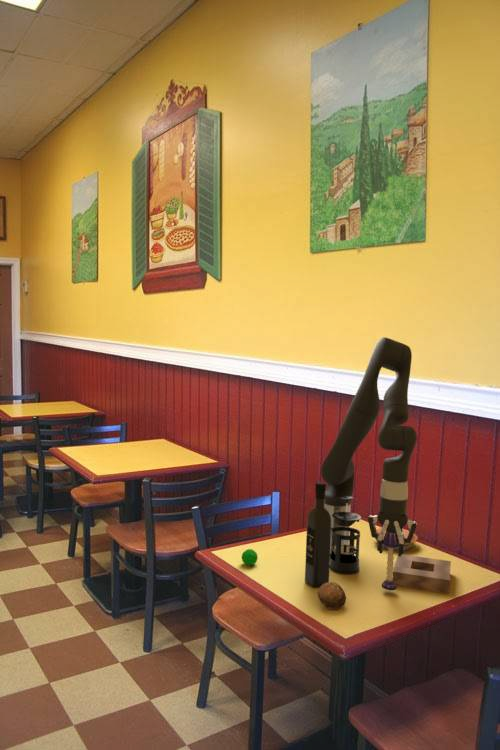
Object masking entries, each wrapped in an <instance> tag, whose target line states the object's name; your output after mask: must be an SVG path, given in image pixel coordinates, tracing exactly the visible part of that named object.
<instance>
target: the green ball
mask: <svg viewBox="0 0 500 750" xmlns="http://www.w3.org/2000/svg"><path fill="white" fill-rule="evenodd" d="M258 558H259V557H258V552H257V551H255V550H253V549H251V548H248V549H245V550H244V551H243V552H242V554H241V561H242V563H244V564H245V566H248V565H251V566H253V565H255V564H256V563H257V562H258Z"/></svg>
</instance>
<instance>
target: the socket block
mask: <svg viewBox="0 0 500 750" xmlns="http://www.w3.org/2000/svg"><path fill="white" fill-rule="evenodd" d="M451 566H452V564H451V560H444V559H437V558H430V557H423V556H418V555H416V556H415V555H410V554H405V553H403V555H401V557H399V556H398V555H397V557H396V560H395V563H394V565H393V575H392V578H393V579H392V581H394V582H395V583H396V586H397V587H404V588H409V589H411V588H412V589H417V590H423V591H427V592H428V591H430V592H435V593H442V594H448V595H449V594H450V586H451V585H450V583H451Z"/></svg>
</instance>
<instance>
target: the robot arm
mask: <svg viewBox="0 0 500 750" xmlns="http://www.w3.org/2000/svg"><path fill="white" fill-rule="evenodd" d="M375 344H376V345H375V346H374V348H373V351H372V353H371V356H370V358H369V361H368V364H367V367H366V369H365V371H364V372H365V373H364V375H363V377H362V379H361V383H360V384H359V387H358V389H357V392H356V393H355V395H354V397H353V399H352V401H351V403H350V406H349V408H348V409H347V412H346V415H345V417H344V419H343V422H342V424H341V426H340V428H339V431H338V433H337V436H336V439H335V441H334V442H333V445H332V446H331V448H330V450H329V452H328V453H327V454H326V457H325V458H324V460H323V461H322V464H321V467H320V475H321V478H322V480H323V482H324V483H326V491H325V508H326V509H327V511H328V512H329V514H330V516H331V527H332V528H335V527H345V526H340V525H337V524H335V523H334V522H333V517H332V514H333V513H336V512H346V500H345V499H341V496H351V497H353V493H354V486H355V464H354V461H353V458H354V454H355V452H356V450H357V449H358V447H359V446H360V445H361V444H362V443H363V441H364V440H365V439H366V437H367V436H368V434H369V433H370V431H372V428H373V427H374V424H375V422H376V420H377V418H378V416H379V414H380V410H381V403H380V402H381V401H380V396H379V390H378V379H379V375H380V372H381V369H382V368H383V369H385V370H389V371H391V372H394V373H395V380H394V381H393V382H392V383H391V385H390V386H389V387H388V388H387V390H386V391H385V393H384V396H383V401H382V402H383V403H382V404H383V419H382V423H381V426H380V429H379V432H378V435H377V442H378V445H379V447H380V448H381V449H383V450H385V451H397V452H398V451H401V453H400V454H399V455H397V456H394V457H387V458H385V459H383V462H382V479H381V483H380V494H379V495H380V496H379V511H378V513H377V515H373V514H370V515H369V516H368V517H367V520H368V521H367V522H368V526H369V531H370V535H371V537H372V538H374V539H375V538H376V539H377V540H378V543H377V546H376V550H377V551H378V552H379V554H381V555H383V551H384V548H383V536H384V533H385V531H394V532H397V535H398V538H399V541H400V542H399V549H398V551H397V556H399V557H401V555H403V554H405V553H404V552H405V550H404V544H405V543H410V542H411V540H412V537H413V534H415V531H416V529H417V526H418V522H417V521H416V520H414V521H413V520H411V519H409V517H408V515H407V514H408V513H407V511H408V496H409V486H408V482H409V481H408V479H409V467H410V462H411V458H412V456H413V452H414V450H415V447H416V444H417V442H418V435H417V431H416V429H415V428H414V427H412V426H409V425H404V424H406V423H407V422H408V420H409V400H408V398H409V397H408V392H409V383H410V378H411V367H412V356H413V355H412V349H411V347H410V346H409V345H407V344H404V343H403V342H399V341H398V340H395V339H392V338H389V337H386V336H385V337H384V336H382V337H381V338H380V339H378V341H377V342H376V343H375ZM351 501H352V500H349V503H348V506H347V512H351ZM377 521H378V523H380V525H381V528H382V529H381V531H380V534H379V533H377V531H376V530H377V527H376V524H377ZM406 525H408V526H407V527H408V529H409V530H408V531H409V534H408V537H404V534H403V529H404V527H405V526H406ZM348 527H351V526H348ZM335 533H336V534H339V535H344V536H345V531H336V532H335ZM346 536H350V531H346ZM376 539H375V540H376ZM341 544H345V540H342V539H341ZM346 544H348V545H349V540H346ZM331 545H332V535H331V541H330V553H331ZM335 545H336V538H335ZM334 554H336V553H335V552H334Z"/></svg>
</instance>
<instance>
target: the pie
mask: <svg viewBox="0 0 500 750" xmlns="http://www.w3.org/2000/svg"><path fill="white" fill-rule="evenodd" d="M381 529H382V527H380V528H378V529H377V528H376V531H377V533H379V534H380V531H381ZM402 529H403V534H404V537H408V534H409V531H410V530H408V529H405V528H402ZM385 533H386V531H385ZM385 533H384V536H385ZM384 536H383V539H384ZM418 537H419V536H417V534H415V533H414V534H413V537H412V540H411V542H410V543H405V544H404V551H406V550H407V551H408V550H409V549H411V547H412V546H413V545H414V543H416V542H418ZM374 539H375V541H376V542H377V544H378V540H377V539H376V538H374ZM398 539H399V538H398ZM399 542H400V541H399ZM383 549H386V550H388V547H387V546H385V545H383ZM398 549H399V546H398V547H394V551H397V552H398Z"/></svg>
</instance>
